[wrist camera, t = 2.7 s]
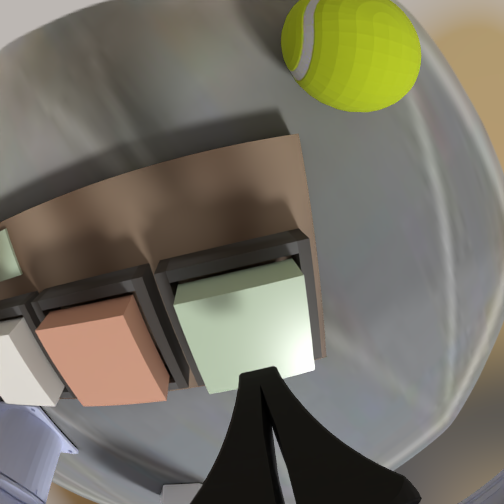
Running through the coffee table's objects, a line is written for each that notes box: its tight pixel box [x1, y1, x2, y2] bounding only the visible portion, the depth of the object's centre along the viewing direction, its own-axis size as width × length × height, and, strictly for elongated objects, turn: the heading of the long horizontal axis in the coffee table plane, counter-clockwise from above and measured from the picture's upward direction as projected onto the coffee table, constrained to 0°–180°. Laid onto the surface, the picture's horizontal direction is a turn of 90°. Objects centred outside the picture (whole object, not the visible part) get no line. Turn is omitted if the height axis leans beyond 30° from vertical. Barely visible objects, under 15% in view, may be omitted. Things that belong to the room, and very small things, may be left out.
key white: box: [0, 317, 65, 406], centre depth 13 cm, size 6×6×2 cm
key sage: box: [173, 258, 315, 394], centre depth 14 cm, size 6×6×2 cm
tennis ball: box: [281, 0, 421, 112], centre depth 11 cm, size 7×7×7 cm
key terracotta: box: [35, 295, 170, 406], centre depth 14 cm, size 6×6×2 cm
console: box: [0, 134, 326, 399], centre depth 15 cm, size 25×14×3 cm, turn 101°
